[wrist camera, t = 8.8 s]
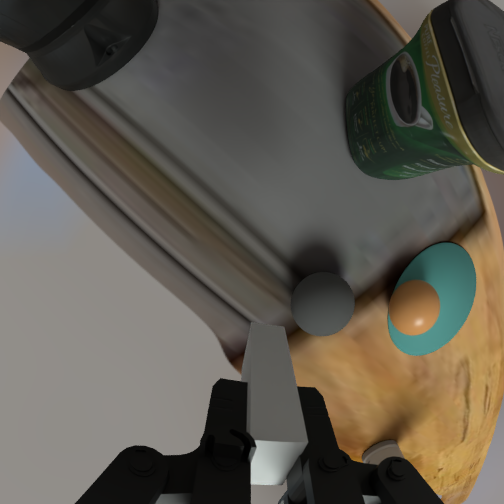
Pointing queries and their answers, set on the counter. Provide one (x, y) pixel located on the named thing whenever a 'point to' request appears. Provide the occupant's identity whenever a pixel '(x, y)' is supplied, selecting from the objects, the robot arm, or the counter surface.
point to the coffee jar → (434, 98)
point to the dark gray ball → (322, 304)
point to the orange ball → (414, 307)
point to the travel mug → (381, 452)
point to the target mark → (449, 291)
